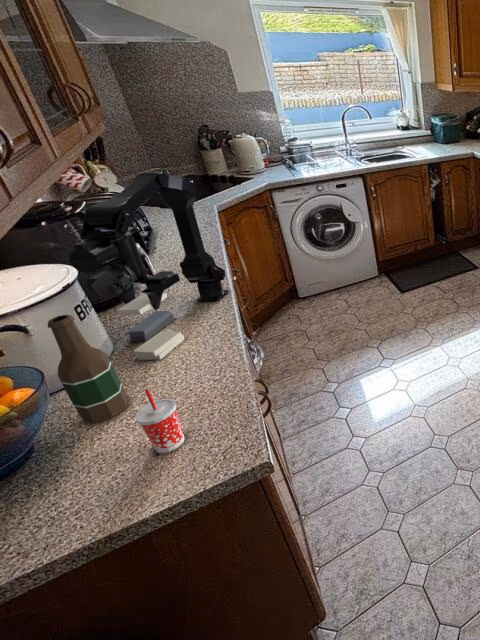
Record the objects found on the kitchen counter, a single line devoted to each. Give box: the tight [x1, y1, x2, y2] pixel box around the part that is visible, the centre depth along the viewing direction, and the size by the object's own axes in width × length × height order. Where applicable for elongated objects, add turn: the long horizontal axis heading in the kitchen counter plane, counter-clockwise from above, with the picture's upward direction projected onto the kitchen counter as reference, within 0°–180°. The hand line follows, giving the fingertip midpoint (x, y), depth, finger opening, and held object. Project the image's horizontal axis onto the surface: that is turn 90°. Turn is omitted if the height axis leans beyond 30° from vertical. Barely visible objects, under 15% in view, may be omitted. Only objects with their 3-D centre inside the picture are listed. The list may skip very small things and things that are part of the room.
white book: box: [116, 292, 168, 316], centre depth 106 cm, size 9×6×1 cm, turn 1°
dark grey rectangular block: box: [127, 310, 175, 342], centre depth 117 cm, size 11×4×3 cm, turn 2°
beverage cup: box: [134, 388, 186, 454], centre depth 80 cm, size 6×6×14 cm
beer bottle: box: [47, 314, 129, 424], centre depth 85 cm, size 8×8×24 cm
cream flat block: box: [132, 330, 185, 361], centre depth 109 cm, size 10×6×3 cm, turn 2°
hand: (145, 309), depth 107 cm, fingers closed on white book, 5 cm apart
